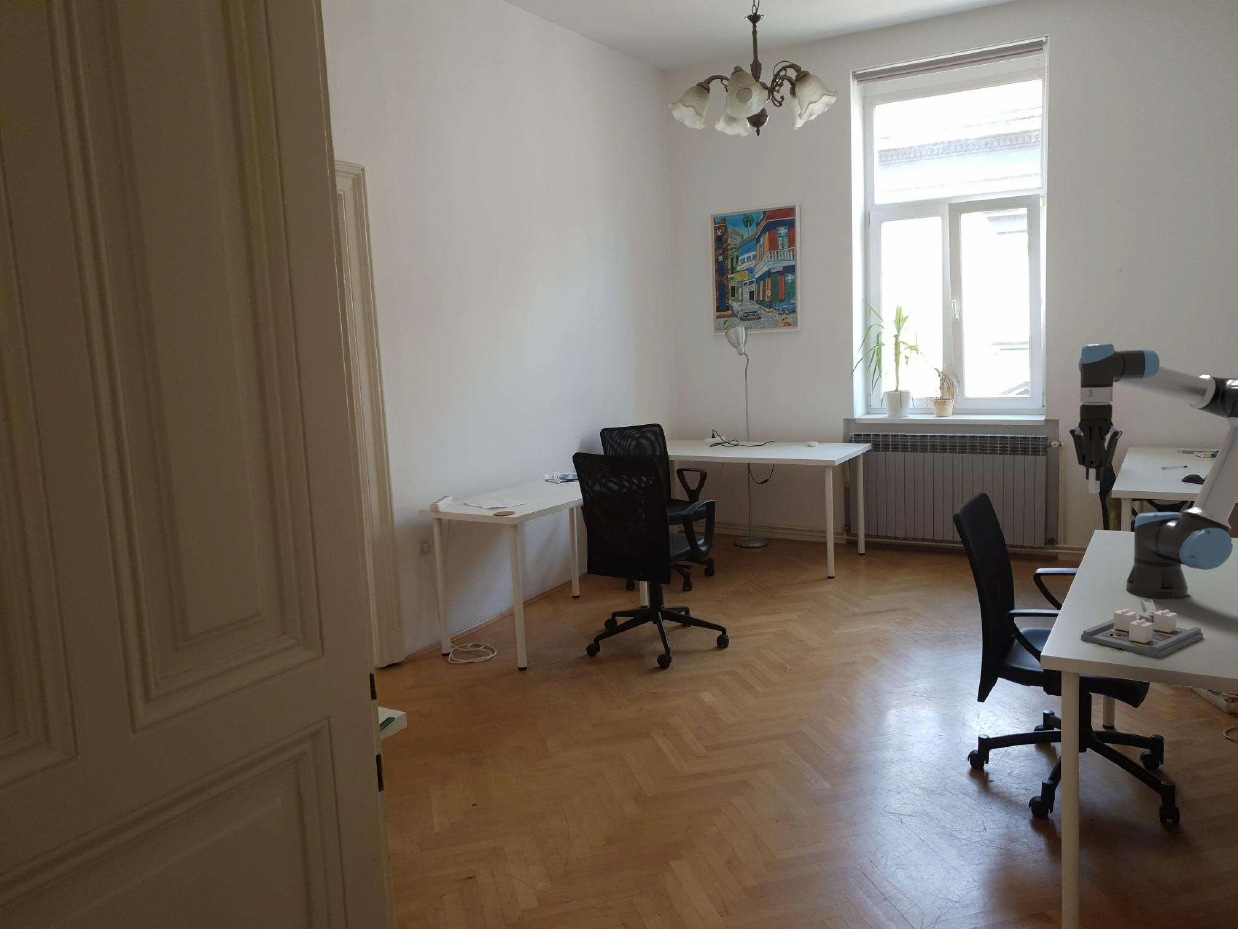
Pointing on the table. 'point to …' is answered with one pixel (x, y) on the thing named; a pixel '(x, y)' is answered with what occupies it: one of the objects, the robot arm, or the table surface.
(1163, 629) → the white notched block
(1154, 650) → the switch bank
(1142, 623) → the white ridged block
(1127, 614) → the white slider knob
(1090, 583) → the table surface
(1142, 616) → the adjustable wrench
